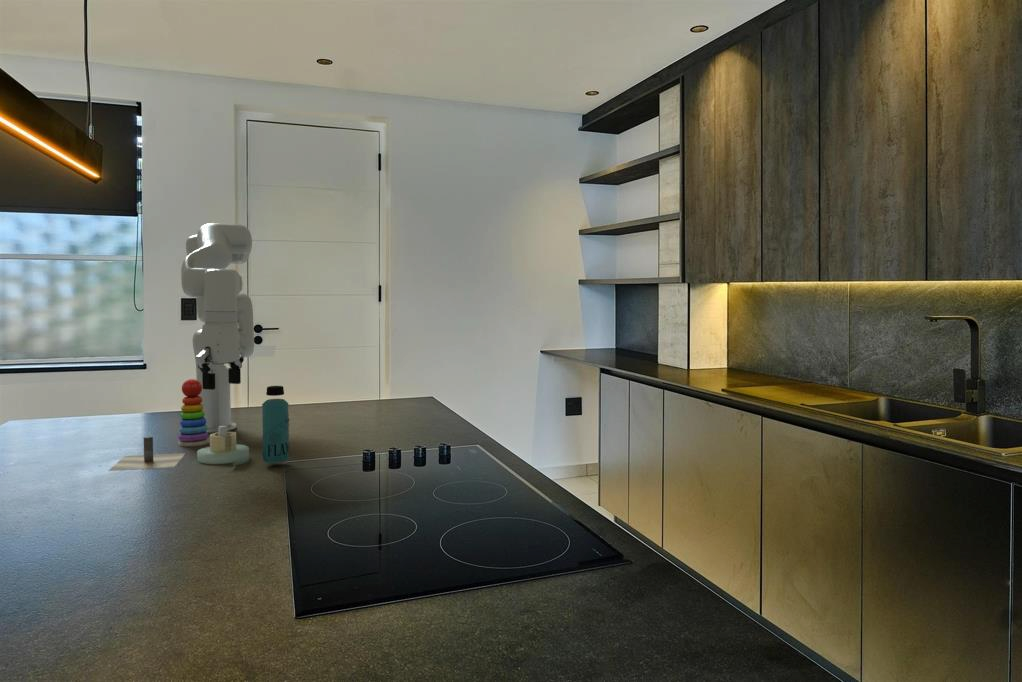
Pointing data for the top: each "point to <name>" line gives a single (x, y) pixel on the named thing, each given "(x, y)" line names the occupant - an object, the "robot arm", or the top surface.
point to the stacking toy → (192, 416)
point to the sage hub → (224, 453)
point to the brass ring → (222, 442)
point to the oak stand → (147, 459)
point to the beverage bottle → (275, 427)
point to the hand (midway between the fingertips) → (222, 386)
